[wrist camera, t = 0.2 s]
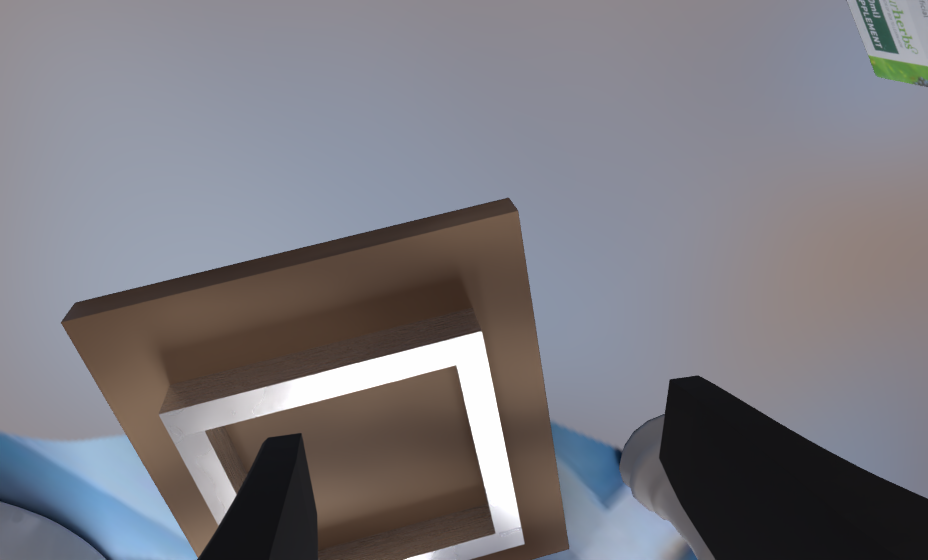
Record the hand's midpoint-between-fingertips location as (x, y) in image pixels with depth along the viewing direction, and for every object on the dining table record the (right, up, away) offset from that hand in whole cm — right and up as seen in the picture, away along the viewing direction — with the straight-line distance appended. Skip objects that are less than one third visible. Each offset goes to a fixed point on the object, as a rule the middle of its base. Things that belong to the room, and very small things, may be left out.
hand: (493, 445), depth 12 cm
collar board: (-4, -3, +12) cm, 13 cm away
